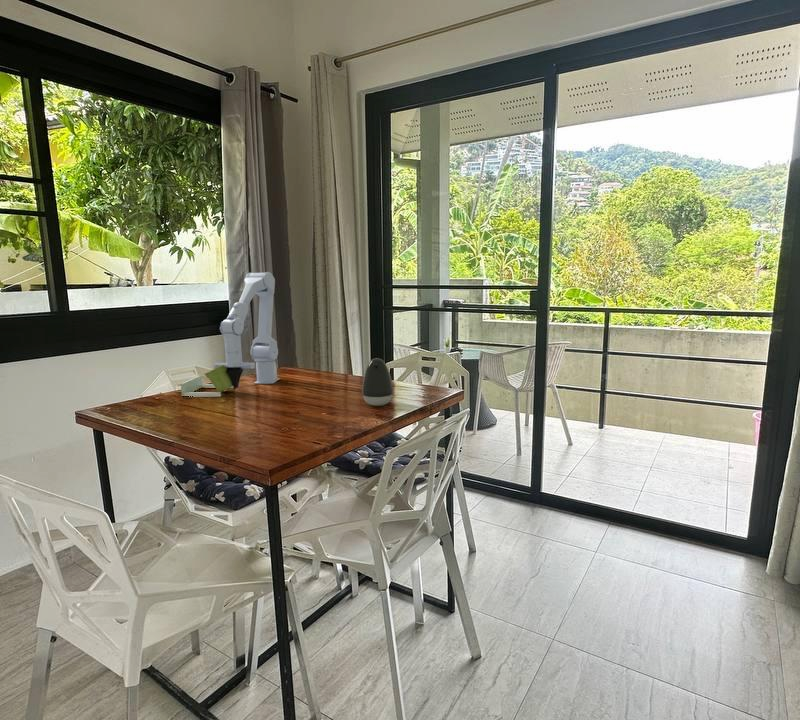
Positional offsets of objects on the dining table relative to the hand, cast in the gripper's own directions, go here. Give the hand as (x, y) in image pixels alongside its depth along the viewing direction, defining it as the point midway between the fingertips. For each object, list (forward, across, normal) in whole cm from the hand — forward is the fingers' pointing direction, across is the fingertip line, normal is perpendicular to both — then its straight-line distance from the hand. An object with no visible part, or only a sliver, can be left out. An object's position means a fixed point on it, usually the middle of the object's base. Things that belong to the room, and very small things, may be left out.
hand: (236, 387), depth 190 cm
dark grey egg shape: (+2, +55, -21) cm, 59 cm away
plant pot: (+1, -4, 0) cm, 4 cm away
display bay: (+2, -9, 0) cm, 9 cm away
